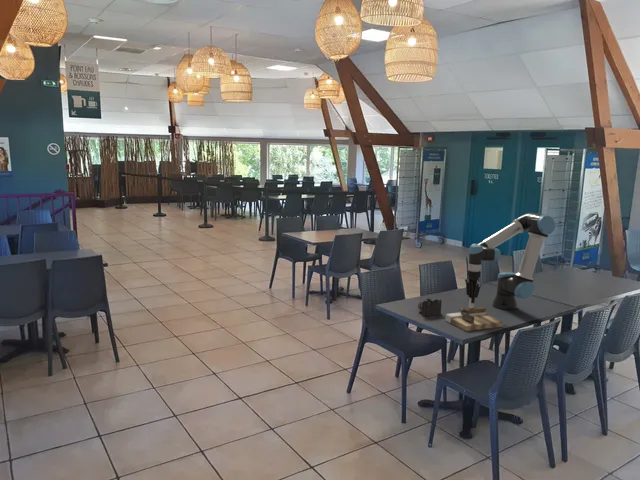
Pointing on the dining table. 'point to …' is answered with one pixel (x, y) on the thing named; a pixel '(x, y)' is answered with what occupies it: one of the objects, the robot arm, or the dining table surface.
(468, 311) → the swing bar
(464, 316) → the bar
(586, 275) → the dining table surface
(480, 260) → the robot arm
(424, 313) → the camera
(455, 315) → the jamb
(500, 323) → the door slab
